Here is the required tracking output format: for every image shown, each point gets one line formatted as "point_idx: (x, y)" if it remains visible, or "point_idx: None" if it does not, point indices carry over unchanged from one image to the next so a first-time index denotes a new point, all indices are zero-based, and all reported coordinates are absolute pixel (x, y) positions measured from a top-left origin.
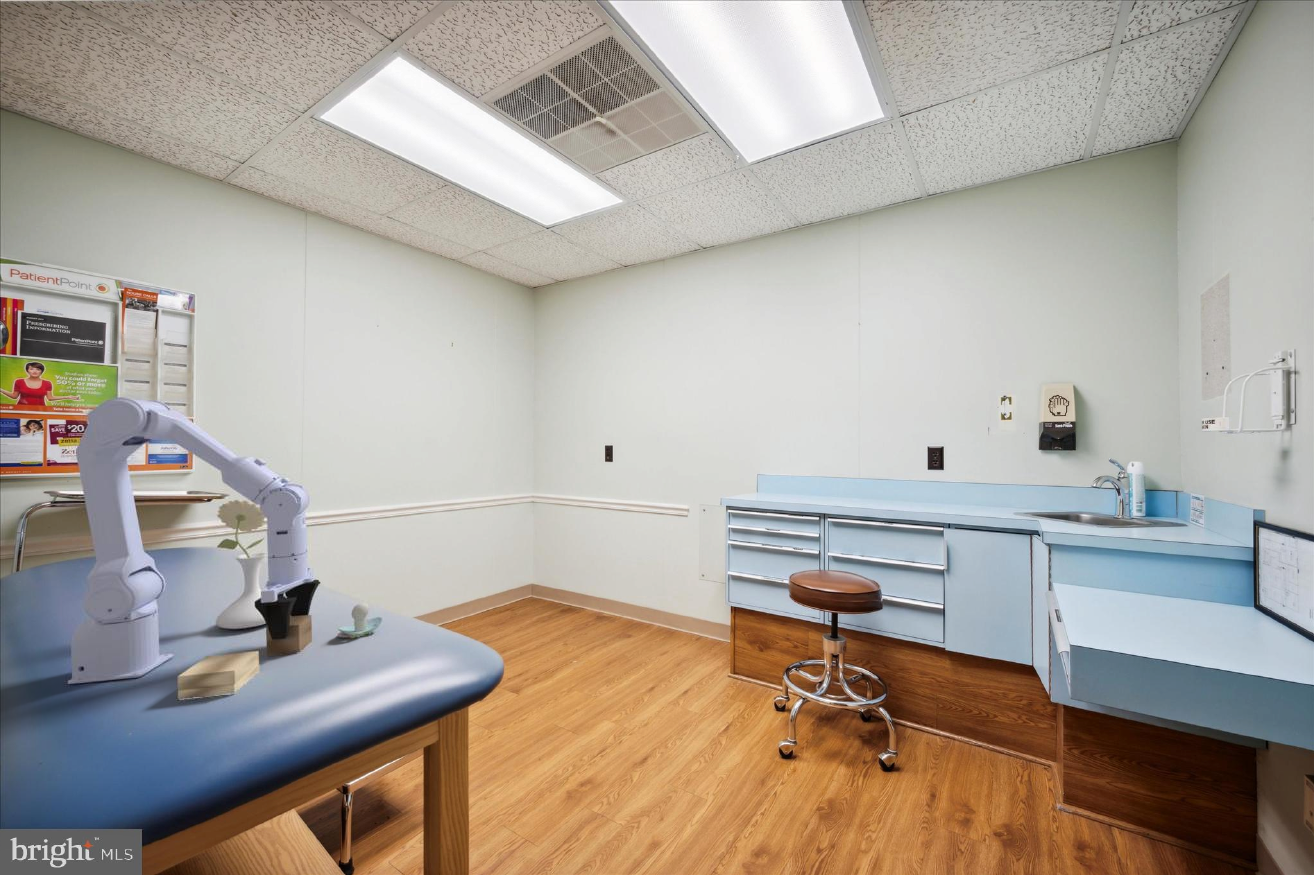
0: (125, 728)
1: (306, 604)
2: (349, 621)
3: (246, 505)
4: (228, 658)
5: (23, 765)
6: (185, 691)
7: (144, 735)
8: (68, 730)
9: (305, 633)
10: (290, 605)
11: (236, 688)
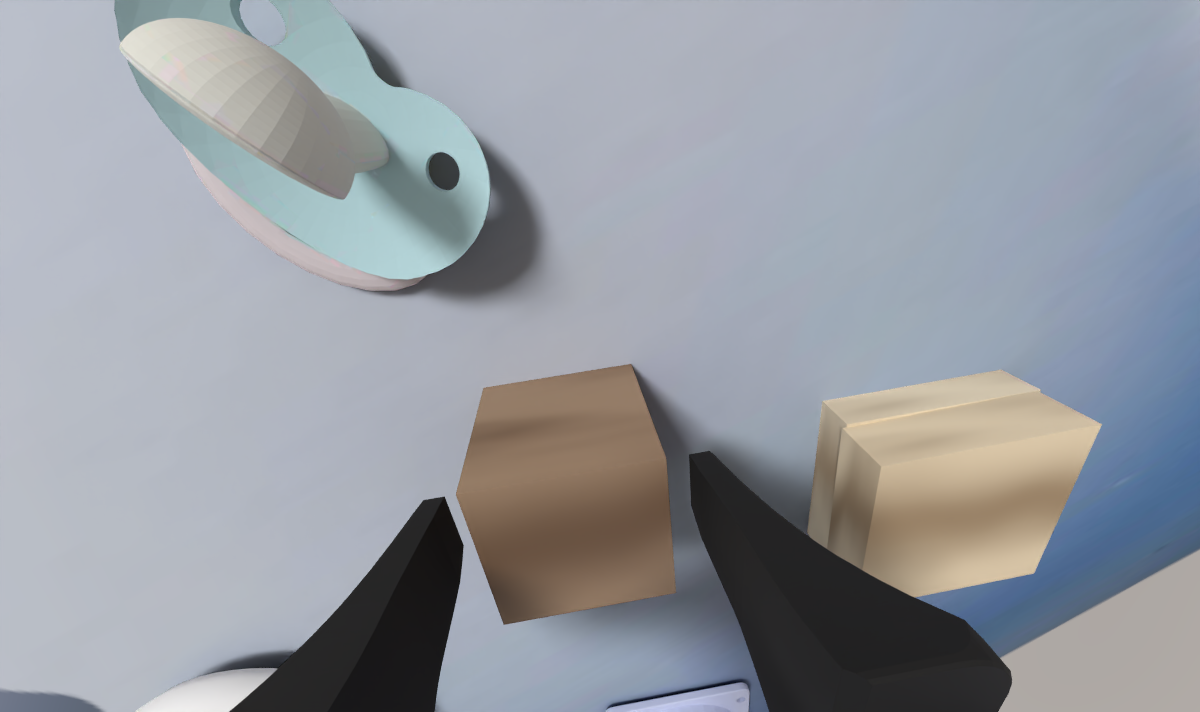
0: (1077, 512)
1: (402, 603)
2: (132, 350)
3: None
4: (925, 528)
5: (1147, 569)
6: None
7: (1161, 442)
8: (1008, 608)
9: (561, 417)
10: (903, 613)
11: (1004, 381)
